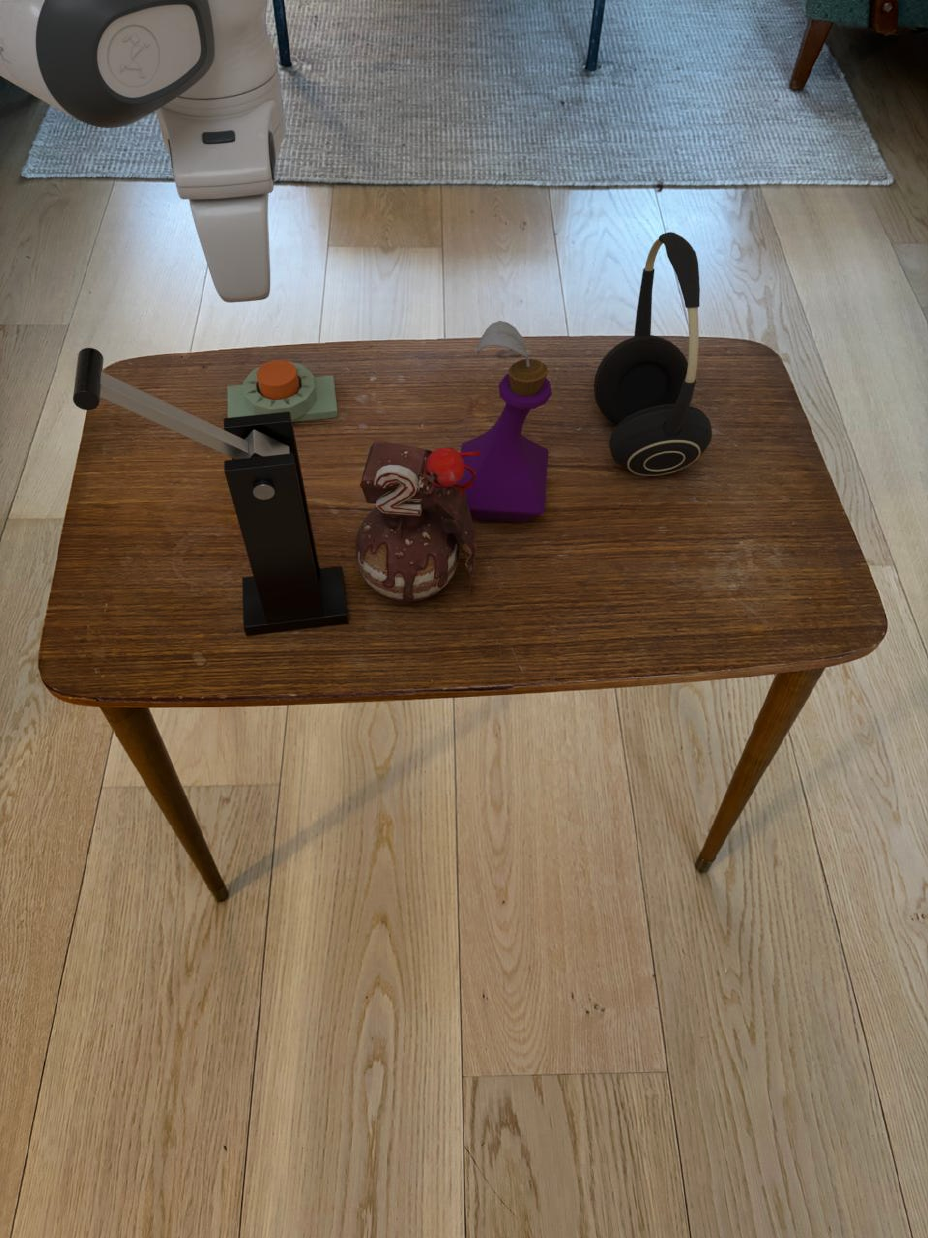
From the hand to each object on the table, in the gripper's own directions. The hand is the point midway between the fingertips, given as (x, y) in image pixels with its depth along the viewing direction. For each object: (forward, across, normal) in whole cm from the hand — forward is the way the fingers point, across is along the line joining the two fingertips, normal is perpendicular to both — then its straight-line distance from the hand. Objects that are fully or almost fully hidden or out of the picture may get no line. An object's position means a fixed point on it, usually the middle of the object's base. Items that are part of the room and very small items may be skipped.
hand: (253, 280), depth 81 cm
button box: (+14, 0, +1) cm, 14 cm away
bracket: (+14, +23, 0) cm, 27 cm away
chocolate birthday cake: (+14, +22, +10) cm, 28 cm away
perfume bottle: (+14, +15, +18) cm, 28 cm away
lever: (-5, +23, -5) cm, 24 cm away
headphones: (+14, +10, +32) cm, 37 cm away
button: (+12, 0, +1) cm, 12 cm away
